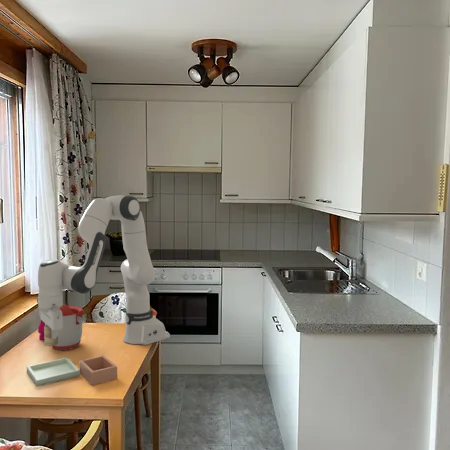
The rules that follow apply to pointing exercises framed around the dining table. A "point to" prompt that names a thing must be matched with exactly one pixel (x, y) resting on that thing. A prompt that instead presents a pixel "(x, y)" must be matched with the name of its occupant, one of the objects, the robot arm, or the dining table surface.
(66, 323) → the citrus juicer
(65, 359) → the tray
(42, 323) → the pepper mill
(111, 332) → the dining table surface
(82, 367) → the open square frame
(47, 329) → the beech cylinder
